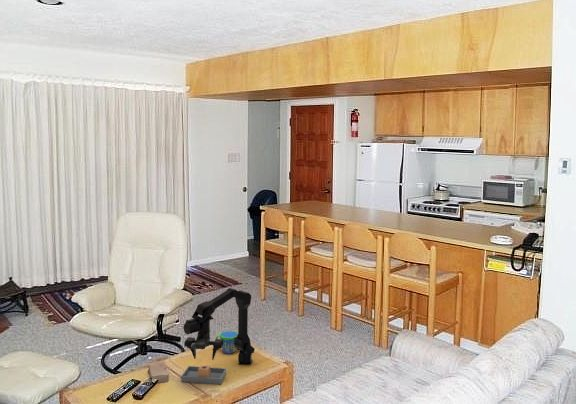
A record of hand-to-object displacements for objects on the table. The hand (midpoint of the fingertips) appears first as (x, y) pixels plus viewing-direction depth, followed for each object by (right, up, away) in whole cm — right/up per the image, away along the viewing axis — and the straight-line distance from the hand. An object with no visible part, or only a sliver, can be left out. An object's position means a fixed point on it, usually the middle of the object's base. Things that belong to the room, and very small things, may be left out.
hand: (203, 359), depth 262 cm
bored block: (0, -9, +1) cm, 9 cm away
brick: (-23, -10, +3) cm, 26 cm away
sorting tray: (0, -10, +1) cm, 10 cm away
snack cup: (+9, -6, +34) cm, 36 cm away
